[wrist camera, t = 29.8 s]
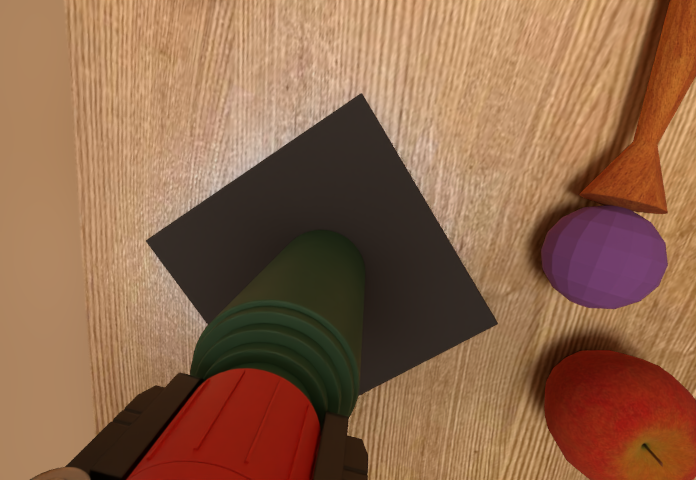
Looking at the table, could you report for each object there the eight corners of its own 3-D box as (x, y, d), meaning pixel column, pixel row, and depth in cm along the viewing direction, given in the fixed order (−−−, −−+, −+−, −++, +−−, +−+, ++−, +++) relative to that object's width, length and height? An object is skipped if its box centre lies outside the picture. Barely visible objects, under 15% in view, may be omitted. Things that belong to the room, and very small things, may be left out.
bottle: (376, 298, 25) (388, 612, 8) (297, 321, 26) (144, 655, 8) (348, 217, 24) (288, 369, 6) (266, 245, 24) (16, 445, 7)
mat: (289, 427, 28) (287, 432, 28) (150, 239, 26) (145, 240, 25) (495, 320, 25) (498, 324, 25) (361, 94, 22) (361, 92, 22)
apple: (506, 405, 27) (560, 504, 19) (551, 313, 25) (631, 381, 17) (604, 437, 27) (697, 547, 19) (655, 347, 25) (781, 429, 17)
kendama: (852, -68, 16) (669, 336, 19) (704, -5, 22) (582, 297, 25) (754, -126, 15) (576, 312, 18) (625, -43, 21) (508, 277, 24)
